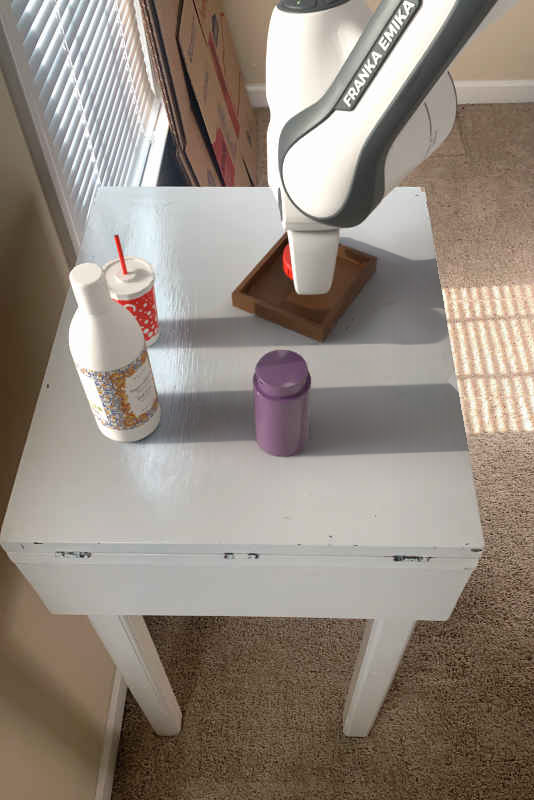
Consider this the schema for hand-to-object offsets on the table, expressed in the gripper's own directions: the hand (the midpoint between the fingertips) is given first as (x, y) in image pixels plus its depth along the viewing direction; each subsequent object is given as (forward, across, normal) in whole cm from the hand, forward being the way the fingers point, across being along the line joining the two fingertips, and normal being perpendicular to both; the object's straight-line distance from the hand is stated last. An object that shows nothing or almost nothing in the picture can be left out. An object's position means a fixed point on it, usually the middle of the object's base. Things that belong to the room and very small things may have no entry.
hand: (305, 270), depth 83 cm
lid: (-2, 0, 0) cm, 2 cm away
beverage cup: (+3, +7, -20) cm, 21 cm away
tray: (+3, 0, 0) cm, 3 cm away
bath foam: (+3, +20, -20) cm, 28 cm away
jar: (+3, +22, -4) cm, 23 cm away
